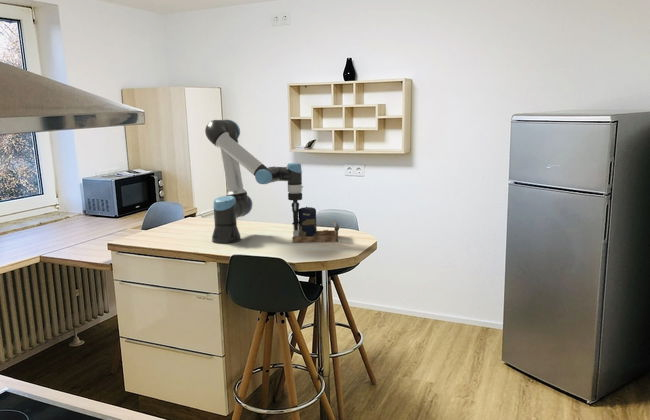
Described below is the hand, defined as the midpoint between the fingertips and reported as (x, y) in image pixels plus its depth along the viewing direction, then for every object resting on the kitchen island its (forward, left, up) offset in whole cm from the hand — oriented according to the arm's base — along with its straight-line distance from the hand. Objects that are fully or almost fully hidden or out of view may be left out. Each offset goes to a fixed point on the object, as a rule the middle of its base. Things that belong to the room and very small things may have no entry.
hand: (296, 235), depth 282 cm
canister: (+6, 0, -2) cm, 7 cm away
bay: (+10, 0, -2) cm, 10 cm away
